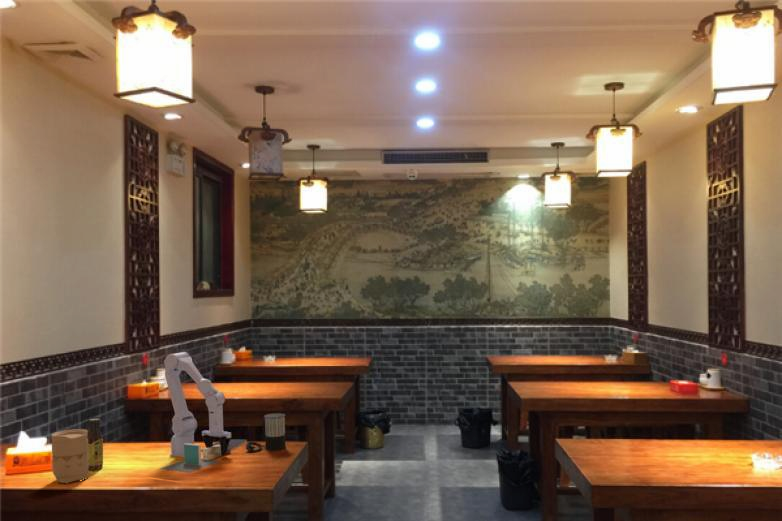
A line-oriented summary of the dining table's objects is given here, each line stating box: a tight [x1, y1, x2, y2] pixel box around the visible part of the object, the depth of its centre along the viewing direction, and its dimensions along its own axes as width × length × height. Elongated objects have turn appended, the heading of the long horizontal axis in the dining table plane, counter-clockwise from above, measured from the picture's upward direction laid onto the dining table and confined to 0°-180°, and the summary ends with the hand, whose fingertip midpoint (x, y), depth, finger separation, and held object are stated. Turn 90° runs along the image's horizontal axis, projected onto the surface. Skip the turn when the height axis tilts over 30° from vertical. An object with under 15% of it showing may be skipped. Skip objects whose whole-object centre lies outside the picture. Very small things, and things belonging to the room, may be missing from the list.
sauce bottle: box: [87, 418, 104, 471], centre depth 282 cm, size 7×6×20 cm
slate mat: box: [159, 458, 222, 473], centre depth 280 cm, size 16×18×1 cm
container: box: [51, 428, 89, 484], centre depth 267 cm, size 13×13×18 cm
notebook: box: [201, 438, 248, 452], centre depth 312 cm, size 13×2×21 cm
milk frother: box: [245, 412, 287, 453], centre depth 304 cm, size 14×16×15 cm
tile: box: [183, 443, 202, 465], centre depth 281 cm, size 2×8×8 cm, turn 62°
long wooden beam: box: [202, 443, 232, 460], centre depth 293 cm, size 14×2×4 cm, turn 151°
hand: (217, 453), depth 293 cm, fingers open, 7 cm apart
